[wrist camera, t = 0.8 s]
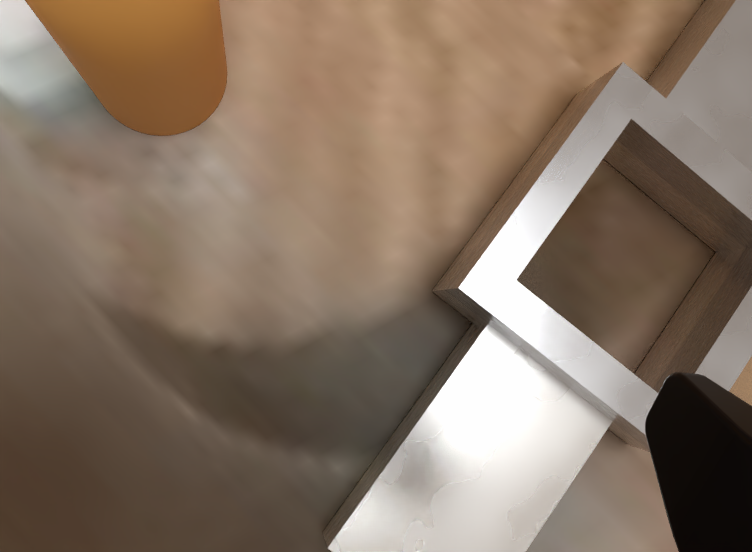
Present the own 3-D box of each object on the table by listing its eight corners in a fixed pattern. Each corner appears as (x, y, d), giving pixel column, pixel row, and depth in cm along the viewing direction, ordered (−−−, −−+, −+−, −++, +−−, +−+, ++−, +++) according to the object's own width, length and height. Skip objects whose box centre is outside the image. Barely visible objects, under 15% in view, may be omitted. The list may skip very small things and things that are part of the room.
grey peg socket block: (490, 653, 22) (526, 705, 19) (278, 500, 21) (281, 530, 18) (872, 74, 26) (952, 43, 23) (702, -78, 25) (763, -131, 22)
